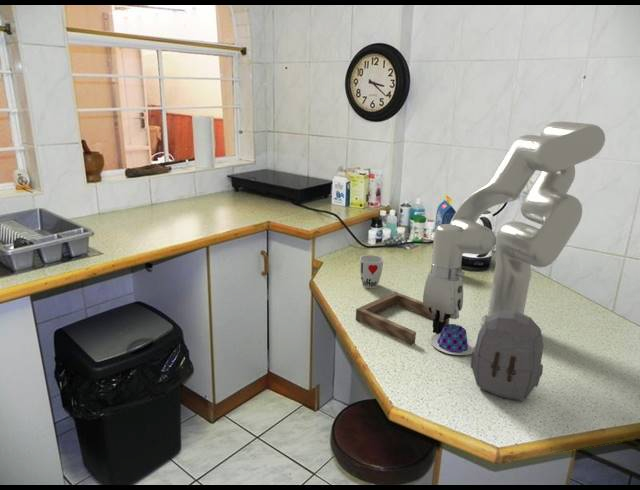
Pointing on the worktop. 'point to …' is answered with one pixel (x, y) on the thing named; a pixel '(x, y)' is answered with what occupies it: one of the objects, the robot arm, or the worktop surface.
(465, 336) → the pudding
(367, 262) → the cup
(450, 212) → the blue food package
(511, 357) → the small grey backpack
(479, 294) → the worktop surface
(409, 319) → the worktop surface
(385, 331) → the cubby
